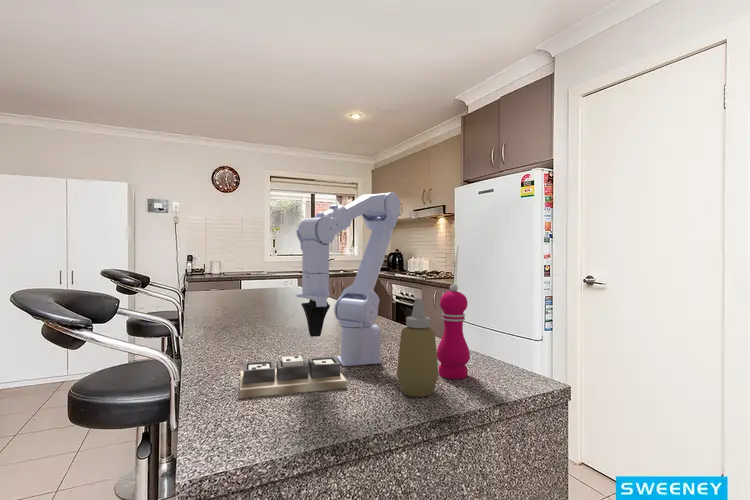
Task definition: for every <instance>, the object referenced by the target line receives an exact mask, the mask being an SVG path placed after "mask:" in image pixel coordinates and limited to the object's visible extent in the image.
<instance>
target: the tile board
mask: <svg viewBox="0 0 750 500" xmlns="http://www.w3.org/2000/svg"><path fill="white" fill-rule="evenodd" d="M302 359H303V366H292V367H281V364H282V359H280V360H276V367H275V361H274V360H265V361H251V362H243V370H240V381H239V396H238V397H239V399H245V398H246V399H248V398H255V397H256V398H257V397H258V398H259V397H266V396H275V395H276V396H277V395H289V394H298V392H300V393H308V392H309V391H310V392H317V391H318V392H320V391H330V390H340V389H347V388H348V387H347V385H348V383H347V382H348V381H347V379H346V377H345V376H344V374H342V372H341V365H342V364H341V363H340V362H339V360H338V359H337V356H323V357H321V356H320V357H309V358H307V360H306V359H305V358H302ZM326 359H332V360H333V362H334V363H332V364H319V365H314V363H313V360H326ZM255 364H269V366H270V368H265V369H252V370H249V365H255ZM288 393H289V394H288Z"/></svg>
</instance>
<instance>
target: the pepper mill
mask: <svg viewBox="0 0 750 500" xmlns="http://www.w3.org/2000/svg"><path fill="white" fill-rule="evenodd" d="M458 289H459V287H458V285H457V284H454V283H453V284H450V286H449V291H446V292H445V293H443V294H442V295H441V297H440V299H439V307H440V309H441V310H442V311H443V312H442V314H441V316H442V317H441V320H442V321H443V325H444V327H443V334H442V337H441V339H440V341H439V344H438V345H437V347H436V351H437V361H438V362H439V363H440V364H439V365H438V374H439V376H440V377H442V378H446V379H450V380H462V379H465V378H467V377H468V367H467V366H466V365H467V364H468V363H469V361H470V358H471V355H470V348H469V346H468V343H467V341H466V339H465V336H464V332H463V331H464V329H463V327H464V321H465V320H466V318H465V316H466V313H465V311H466V310H467V309H468V299H467V297H466V295H465V294H463V293H462V292H461V291H458Z"/></svg>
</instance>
